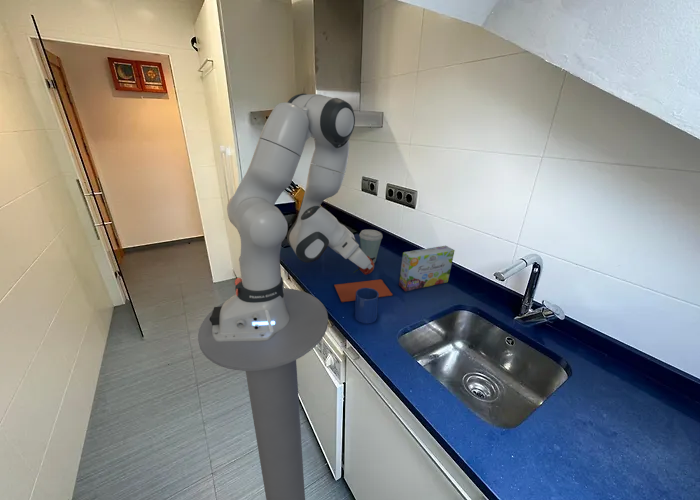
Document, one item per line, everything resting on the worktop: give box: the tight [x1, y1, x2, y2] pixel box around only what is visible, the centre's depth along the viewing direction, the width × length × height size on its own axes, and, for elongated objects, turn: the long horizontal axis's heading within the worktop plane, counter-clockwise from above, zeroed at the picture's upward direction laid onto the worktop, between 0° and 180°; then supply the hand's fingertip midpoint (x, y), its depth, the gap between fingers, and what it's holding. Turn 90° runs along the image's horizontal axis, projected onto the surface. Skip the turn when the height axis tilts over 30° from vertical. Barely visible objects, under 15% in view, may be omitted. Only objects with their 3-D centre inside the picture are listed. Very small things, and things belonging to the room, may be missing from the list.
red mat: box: [333, 279, 393, 303], centre depth 111 cm, size 20×12×1 cm, turn 105°
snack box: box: [398, 245, 456, 292], centre depth 113 cm, size 21×6×15 cm, turn 114°
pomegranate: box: [353, 256, 377, 276], centre depth 106 cm, size 7×7×10 cm
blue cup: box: [354, 288, 380, 324], centre depth 94 cm, size 7×7×9 cm
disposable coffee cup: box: [358, 229, 383, 264], centre depth 132 cm, size 11×11×15 cm
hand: (366, 262), depth 106 cm, fingers closed on pomegranate, 7 cm apart
